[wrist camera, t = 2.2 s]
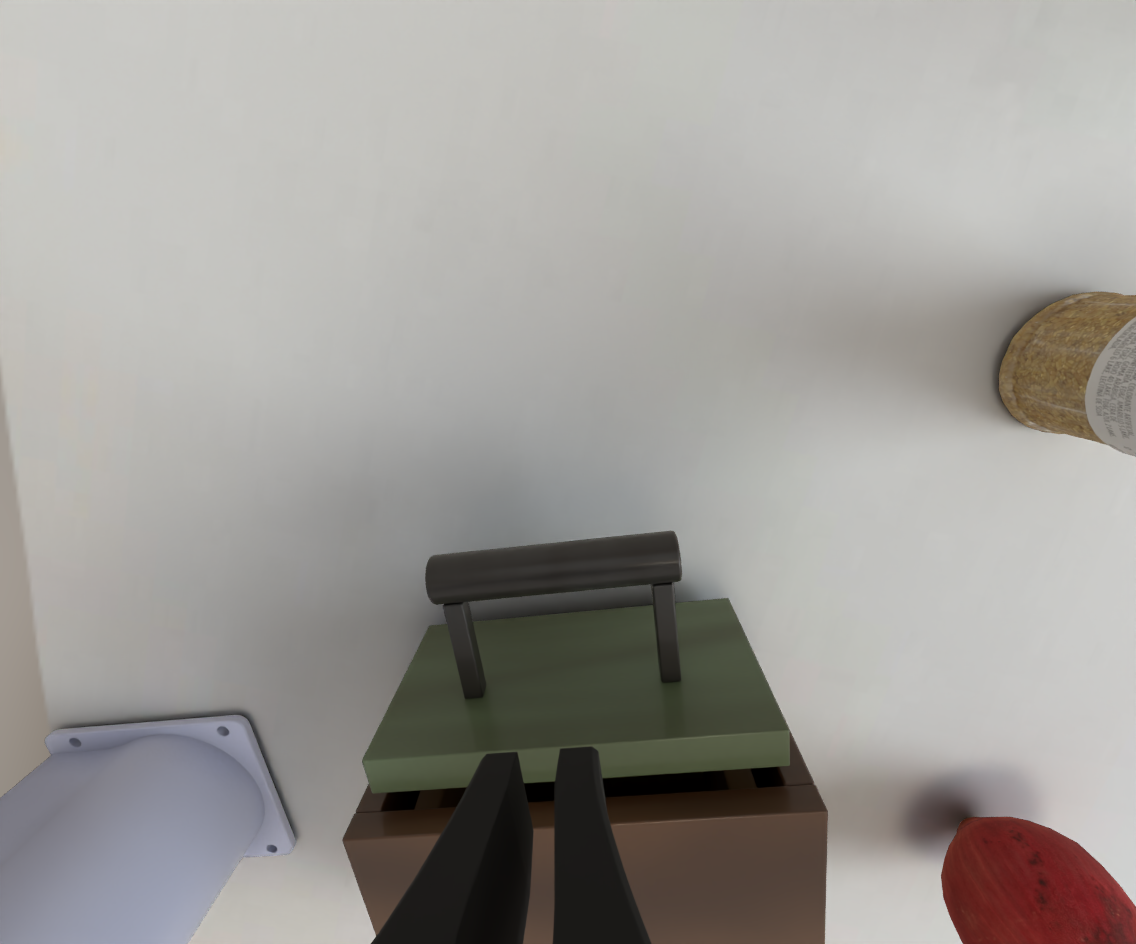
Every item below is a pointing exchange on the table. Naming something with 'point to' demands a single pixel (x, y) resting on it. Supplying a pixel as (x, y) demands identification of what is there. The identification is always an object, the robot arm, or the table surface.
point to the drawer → (578, 680)
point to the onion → (1030, 887)
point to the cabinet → (648, 858)
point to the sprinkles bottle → (1076, 370)
